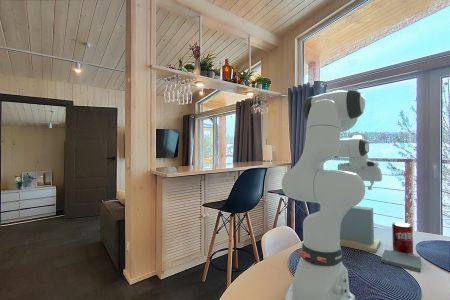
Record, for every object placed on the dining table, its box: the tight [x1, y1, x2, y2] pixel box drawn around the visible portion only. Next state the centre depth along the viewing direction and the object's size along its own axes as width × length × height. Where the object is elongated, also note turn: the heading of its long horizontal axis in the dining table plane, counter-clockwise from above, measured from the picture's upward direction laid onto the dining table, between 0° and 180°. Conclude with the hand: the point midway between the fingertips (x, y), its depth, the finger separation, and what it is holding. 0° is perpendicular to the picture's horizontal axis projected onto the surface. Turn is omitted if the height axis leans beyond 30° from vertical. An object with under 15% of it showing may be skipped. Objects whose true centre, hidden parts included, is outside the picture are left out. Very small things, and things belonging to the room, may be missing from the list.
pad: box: [380, 249, 421, 272], centre depth 93 cm, size 12×12×1 cm
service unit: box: [340, 205, 381, 253], centre depth 112 cm, size 14×18×18 cm
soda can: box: [391, 221, 414, 255], centre depth 102 cm, size 7×7×12 cm
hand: (359, 189), depth 121 cm, fingers open, 8 cm apart
